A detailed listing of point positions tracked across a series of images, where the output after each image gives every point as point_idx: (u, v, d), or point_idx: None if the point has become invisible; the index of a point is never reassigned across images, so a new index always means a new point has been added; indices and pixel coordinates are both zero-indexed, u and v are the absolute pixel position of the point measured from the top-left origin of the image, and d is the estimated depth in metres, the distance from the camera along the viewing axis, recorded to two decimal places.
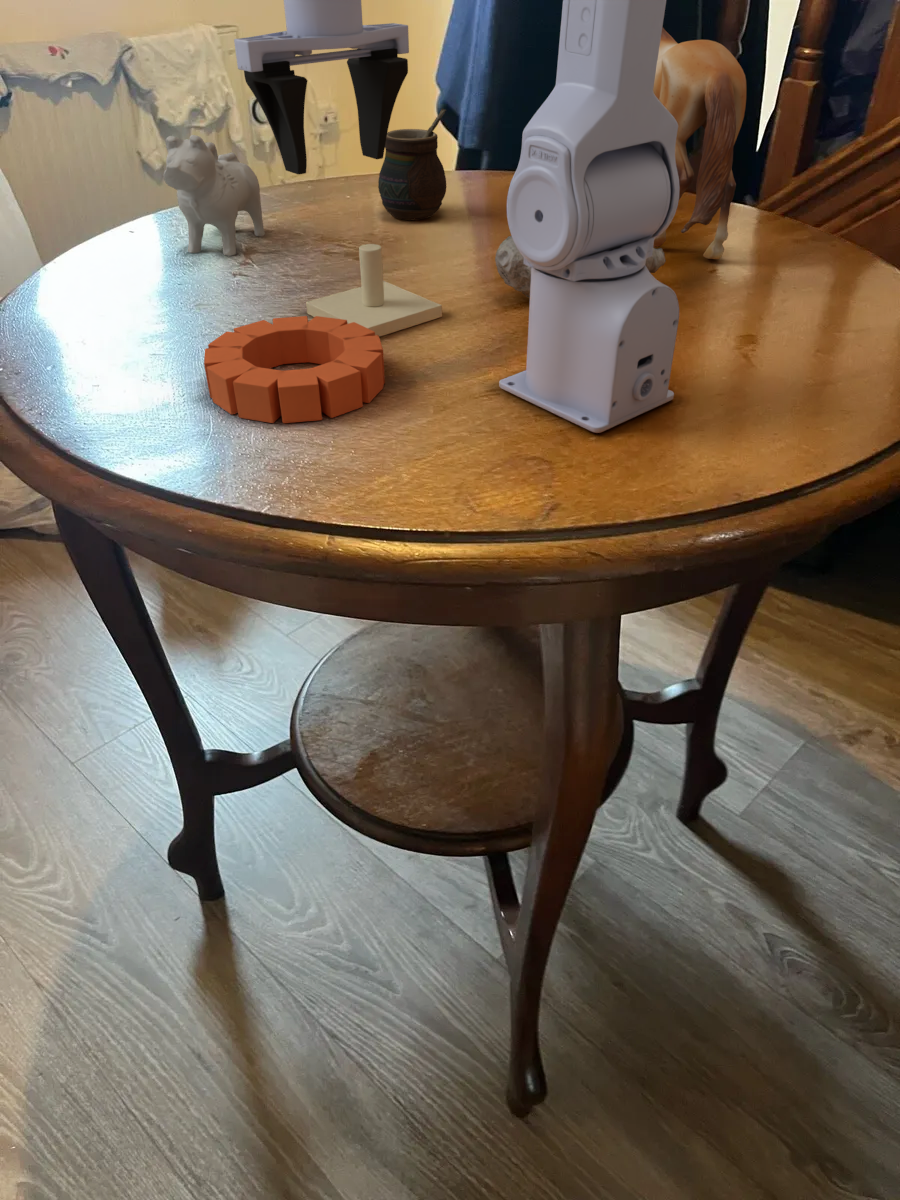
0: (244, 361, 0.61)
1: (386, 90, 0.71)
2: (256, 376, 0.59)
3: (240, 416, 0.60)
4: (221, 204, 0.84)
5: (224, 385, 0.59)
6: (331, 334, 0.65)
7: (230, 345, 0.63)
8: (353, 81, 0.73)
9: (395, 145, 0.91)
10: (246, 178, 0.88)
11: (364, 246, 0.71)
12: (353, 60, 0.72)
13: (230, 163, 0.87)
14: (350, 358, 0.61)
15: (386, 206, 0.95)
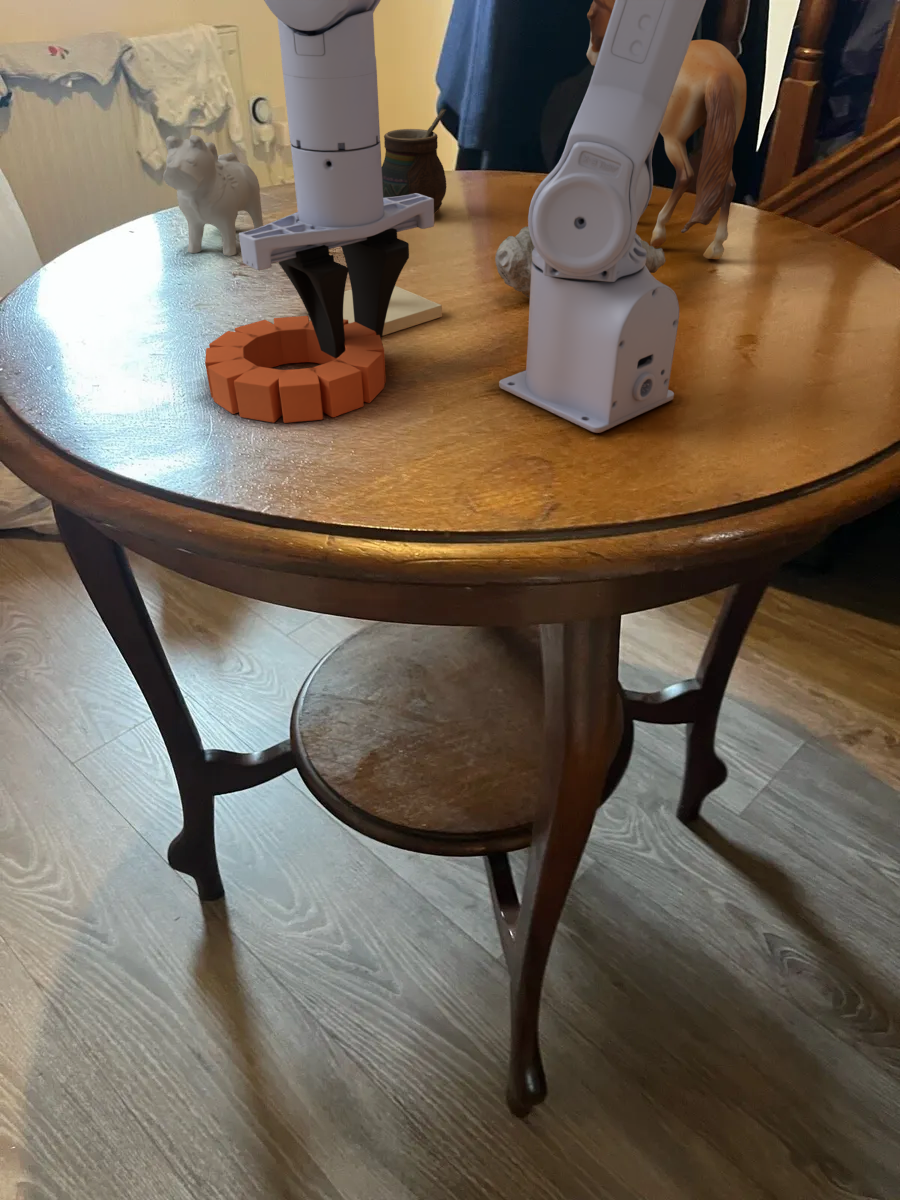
0: (245, 360, 0.61)
1: (384, 278, 0.62)
2: (257, 375, 0.59)
3: (241, 415, 0.60)
4: (221, 204, 0.84)
5: (225, 384, 0.59)
6: None
7: (231, 345, 0.63)
8: (347, 261, 0.64)
9: (395, 145, 0.91)
10: (246, 178, 0.88)
11: None
12: None
13: (230, 163, 0.87)
14: (351, 358, 0.61)
15: None
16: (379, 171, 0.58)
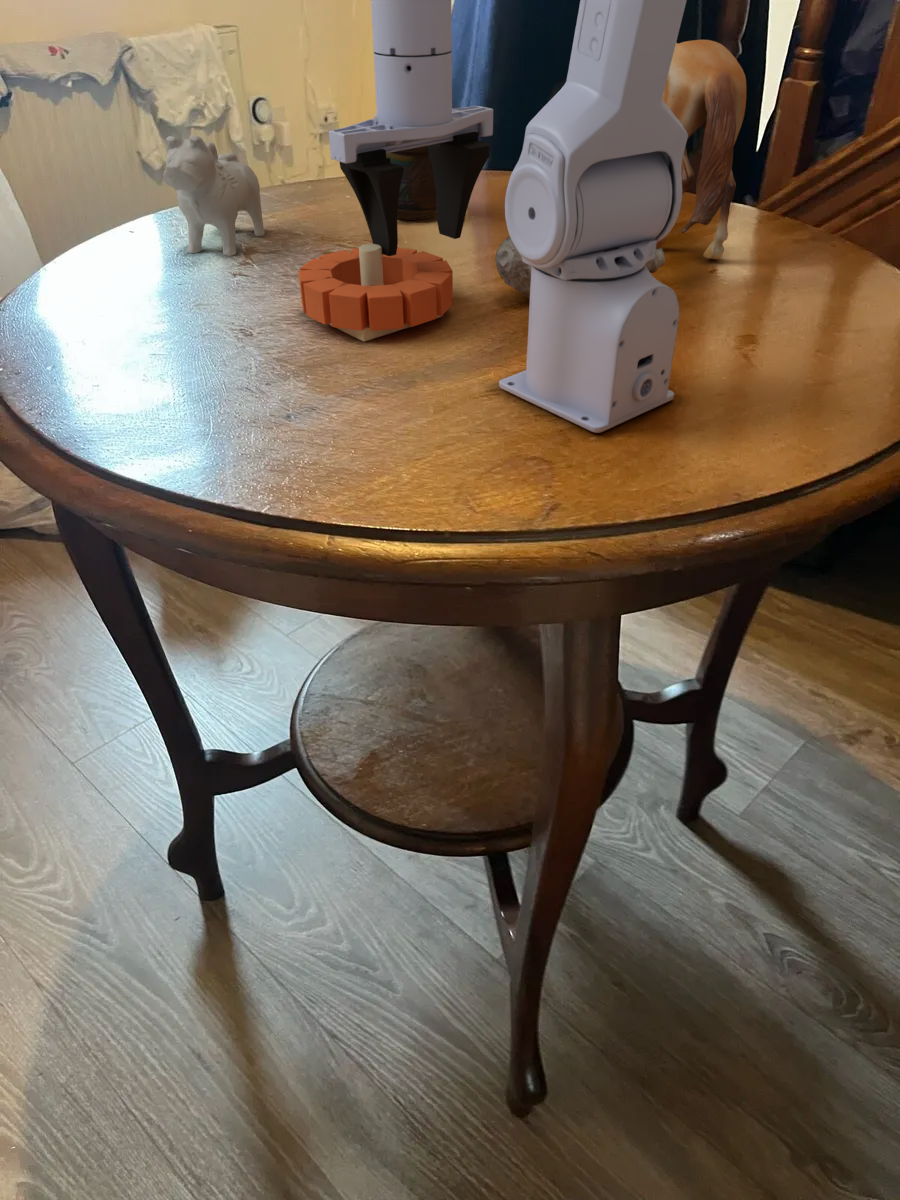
0: (335, 279, 0.71)
1: (467, 174, 0.71)
2: (348, 290, 0.69)
3: (333, 325, 0.70)
4: (221, 204, 0.84)
5: (320, 298, 0.69)
6: (405, 260, 0.74)
7: (319, 268, 0.73)
8: (432, 163, 0.73)
9: None
10: (246, 178, 0.88)
11: (364, 246, 0.71)
12: None
13: (230, 163, 0.87)
14: (425, 277, 0.71)
15: None
16: (450, 78, 0.66)
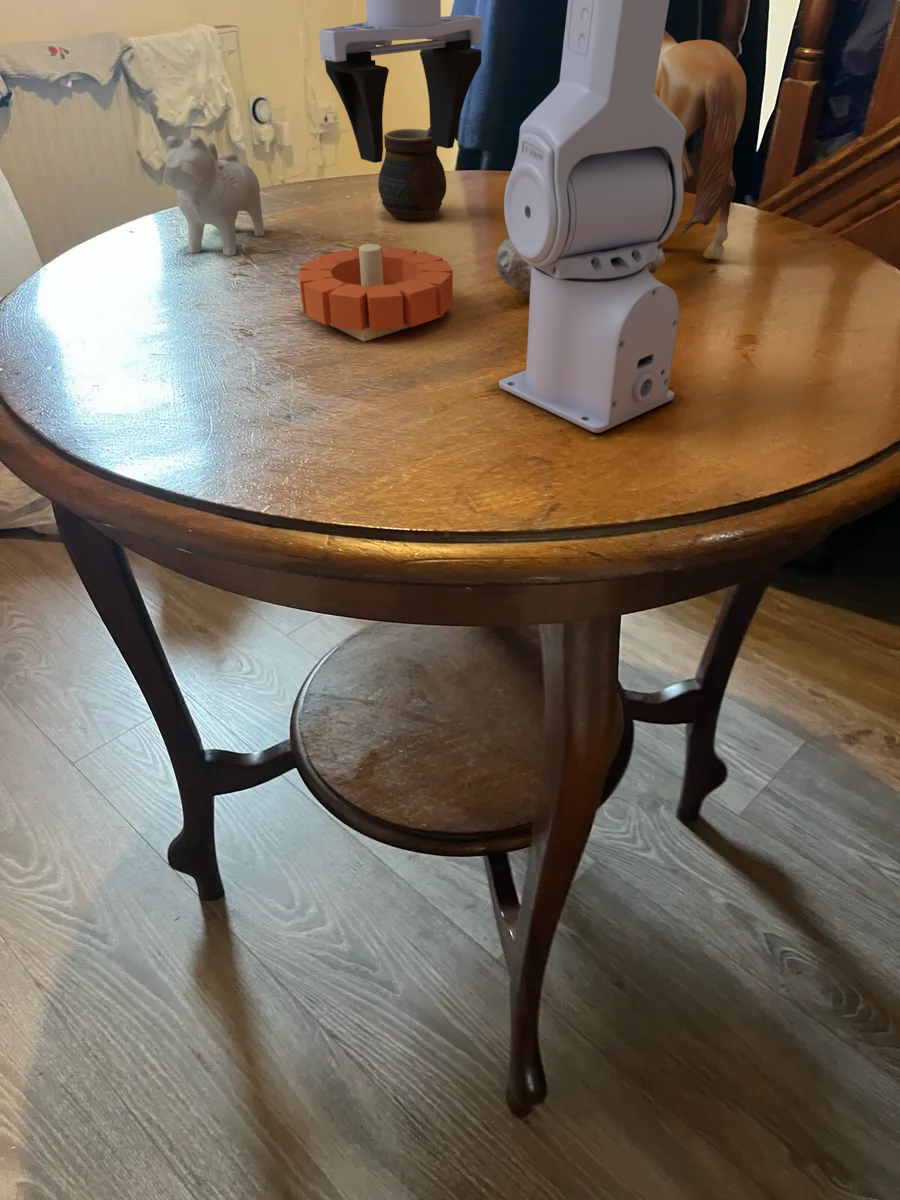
0: (335, 279, 0.71)
1: (460, 81, 0.72)
2: (348, 290, 0.69)
3: (333, 325, 0.70)
4: (221, 204, 0.84)
5: (320, 298, 0.69)
6: (405, 260, 0.74)
7: (319, 268, 0.73)
8: (425, 72, 0.75)
9: (395, 145, 0.91)
10: (246, 178, 0.88)
11: (364, 246, 0.71)
12: (426, 51, 0.74)
13: (230, 163, 0.87)
14: (425, 277, 0.71)
15: (386, 206, 0.95)
16: None
